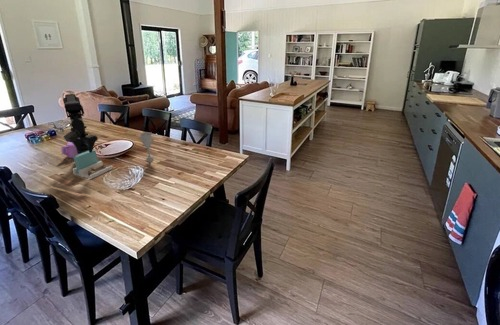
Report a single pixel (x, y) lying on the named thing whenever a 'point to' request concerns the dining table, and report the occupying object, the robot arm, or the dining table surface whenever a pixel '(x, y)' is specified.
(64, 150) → the teapot
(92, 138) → the robot arm
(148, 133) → the chalice
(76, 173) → the rack
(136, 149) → the dining table surface
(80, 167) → the teal flat block
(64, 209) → the dining table surface
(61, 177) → the dining table surface
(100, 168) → the offcut stack
